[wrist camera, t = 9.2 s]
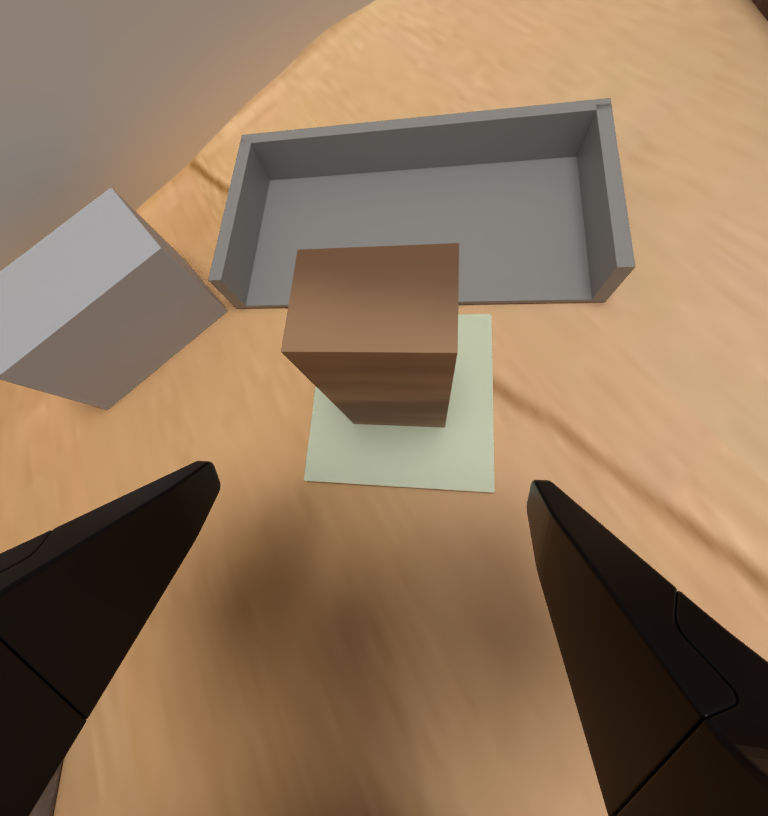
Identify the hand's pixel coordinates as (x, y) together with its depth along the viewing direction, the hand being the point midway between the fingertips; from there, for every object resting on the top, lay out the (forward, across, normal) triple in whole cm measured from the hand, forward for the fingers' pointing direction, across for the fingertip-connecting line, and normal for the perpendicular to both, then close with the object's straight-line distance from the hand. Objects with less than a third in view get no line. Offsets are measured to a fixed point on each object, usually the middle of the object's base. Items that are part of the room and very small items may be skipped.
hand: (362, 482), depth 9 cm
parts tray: (+18, 0, -6) cm, 19 cm away
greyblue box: (+13, +18, -1) cm, 22 cm away
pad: (+10, 0, +2) cm, 10 cm away
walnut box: (+10, 0, +2) cm, 10 cm away
